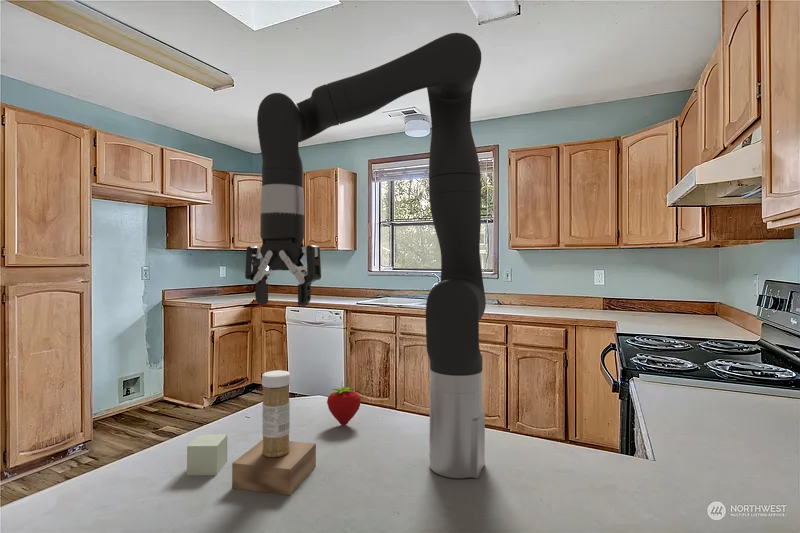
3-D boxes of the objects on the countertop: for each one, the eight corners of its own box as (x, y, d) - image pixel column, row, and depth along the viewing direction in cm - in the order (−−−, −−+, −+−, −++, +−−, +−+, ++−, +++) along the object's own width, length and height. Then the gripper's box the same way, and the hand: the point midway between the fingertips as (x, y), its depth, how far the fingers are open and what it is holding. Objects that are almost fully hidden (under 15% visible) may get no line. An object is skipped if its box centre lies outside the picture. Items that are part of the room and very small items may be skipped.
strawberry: (360, 430, 94) (360, 384, 94) (325, 430, 94) (325, 384, 94) (361, 420, 100) (361, 377, 100) (328, 420, 100) (328, 377, 100)
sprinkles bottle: (282, 445, 77) (283, 368, 77) (294, 453, 73) (295, 373, 73) (257, 452, 74) (257, 372, 74) (268, 461, 70) (268, 377, 70)
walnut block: (315, 466, 77) (315, 443, 77) (290, 495, 68) (290, 469, 68) (264, 460, 79) (264, 438, 79) (232, 488, 70) (232, 463, 70)
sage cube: (227, 462, 79) (227, 434, 79) (217, 475, 74) (217, 445, 74) (199, 462, 79) (199, 434, 79) (186, 475, 74) (187, 446, 74)
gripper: (328, 213, 78) (328, 304, 78) (263, 216, 83) (262, 302, 83) (305, 208, 71) (305, 308, 71) (235, 212, 76) (235, 305, 76)
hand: (282, 304), depth 77 cm, fingers open, 8 cm apart
